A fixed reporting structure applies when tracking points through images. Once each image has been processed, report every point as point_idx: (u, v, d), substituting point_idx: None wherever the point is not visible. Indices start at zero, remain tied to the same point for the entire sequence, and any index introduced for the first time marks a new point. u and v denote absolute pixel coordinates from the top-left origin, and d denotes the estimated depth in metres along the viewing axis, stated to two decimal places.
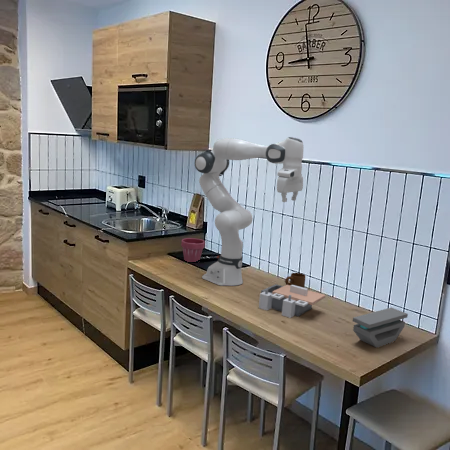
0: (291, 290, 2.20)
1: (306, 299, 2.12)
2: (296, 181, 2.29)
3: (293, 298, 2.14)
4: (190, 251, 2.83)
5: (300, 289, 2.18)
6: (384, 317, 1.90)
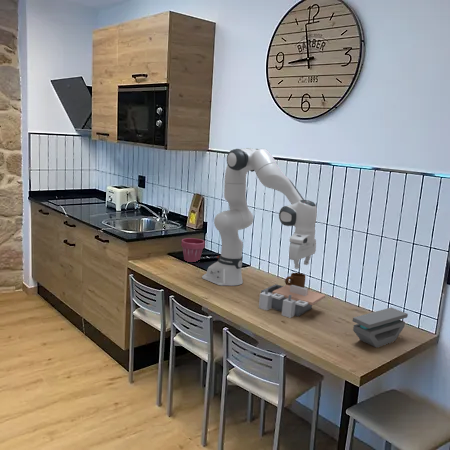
0: (291, 290, 2.20)
1: (306, 299, 2.12)
2: (309, 245, 2.17)
3: (293, 298, 2.14)
4: (190, 251, 2.83)
5: (300, 289, 2.18)
6: (384, 317, 1.90)
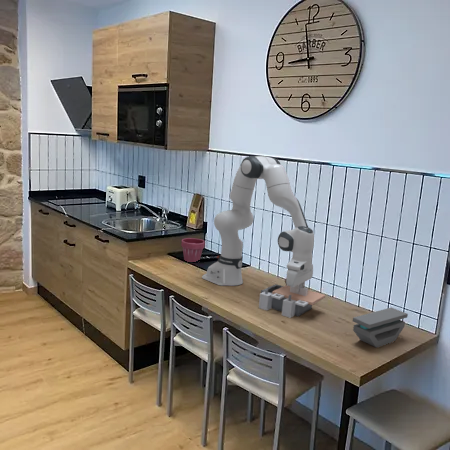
0: (291, 290, 2.20)
1: (306, 299, 2.12)
2: (306, 271, 2.19)
3: (293, 298, 2.14)
4: (190, 251, 2.83)
5: (300, 289, 2.18)
6: (384, 317, 1.90)
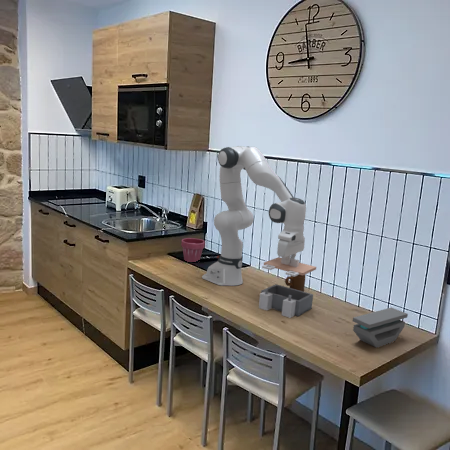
0: (282, 261, 2.21)
1: (297, 270, 2.13)
2: (297, 242, 2.20)
3: (284, 269, 2.15)
4: (190, 251, 2.83)
5: (291, 260, 2.19)
6: (384, 317, 1.90)
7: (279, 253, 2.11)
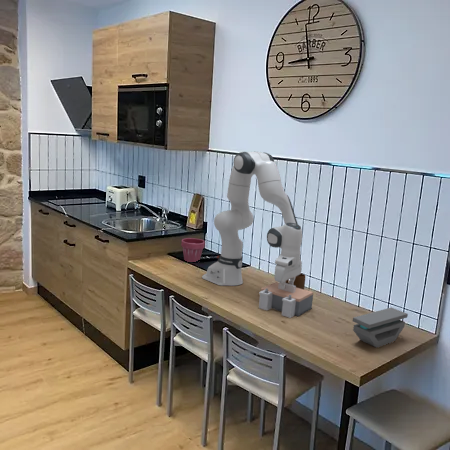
0: (279, 287, 2.23)
1: (293, 296, 2.15)
2: (294, 267, 2.22)
3: (281, 295, 2.17)
4: (190, 251, 2.83)
5: (288, 286, 2.21)
6: (384, 317, 1.90)
7: (276, 278, 2.14)
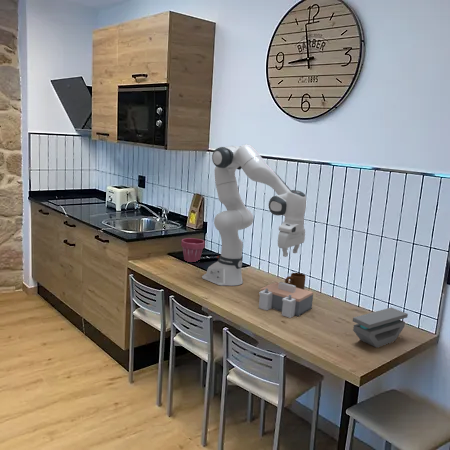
0: (279, 287, 2.23)
1: (293, 296, 2.15)
2: (298, 234, 2.23)
3: (281, 295, 2.17)
4: (190, 251, 2.83)
5: (288, 286, 2.21)
6: (384, 317, 1.90)
7: (279, 244, 2.15)
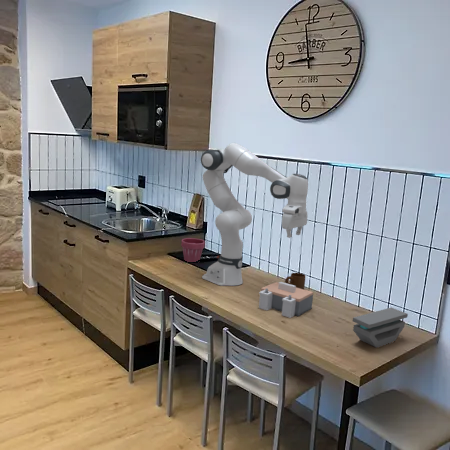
0: (279, 287, 2.23)
1: (293, 296, 2.15)
2: (301, 216, 2.32)
3: (281, 295, 2.17)
4: (190, 251, 2.83)
5: (288, 286, 2.21)
6: (384, 317, 1.90)
7: (283, 225, 2.24)
